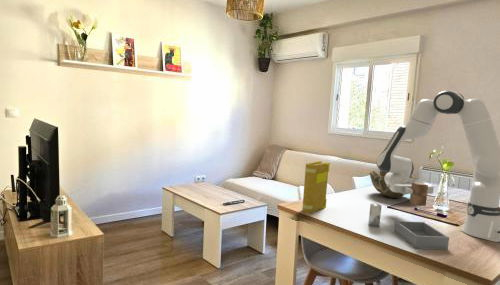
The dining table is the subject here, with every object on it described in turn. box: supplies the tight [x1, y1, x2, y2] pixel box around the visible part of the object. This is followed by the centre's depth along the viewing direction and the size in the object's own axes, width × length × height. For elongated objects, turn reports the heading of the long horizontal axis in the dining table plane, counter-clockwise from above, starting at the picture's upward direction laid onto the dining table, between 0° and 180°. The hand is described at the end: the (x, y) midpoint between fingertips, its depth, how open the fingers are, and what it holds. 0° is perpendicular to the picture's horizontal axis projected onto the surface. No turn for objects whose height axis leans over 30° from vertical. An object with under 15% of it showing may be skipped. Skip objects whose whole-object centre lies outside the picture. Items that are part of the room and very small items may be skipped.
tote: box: [393, 220, 450, 250], centre depth 141 cm, size 14×18×5 cm
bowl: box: [369, 170, 416, 199], centre depth 213 cm, size 28×27×15 cm
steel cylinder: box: [368, 203, 382, 228], centre depth 156 cm, size 5×5×10 cm
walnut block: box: [409, 182, 428, 207], centre depth 156 cm, size 5×5×10 cm
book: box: [301, 160, 331, 214], centre depth 175 cm, size 17×7×25 cm, turn 141°
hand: (420, 192), depth 155 cm, fingers closed on walnut block, 5 cm apart
